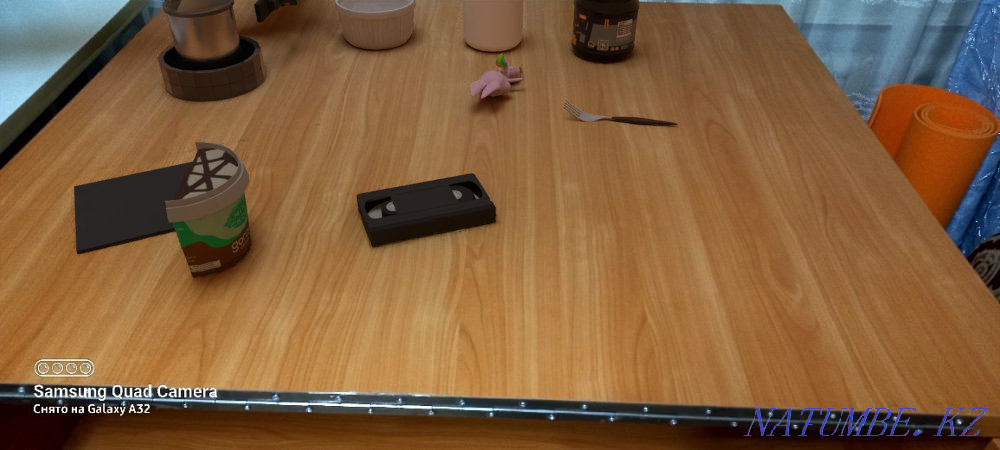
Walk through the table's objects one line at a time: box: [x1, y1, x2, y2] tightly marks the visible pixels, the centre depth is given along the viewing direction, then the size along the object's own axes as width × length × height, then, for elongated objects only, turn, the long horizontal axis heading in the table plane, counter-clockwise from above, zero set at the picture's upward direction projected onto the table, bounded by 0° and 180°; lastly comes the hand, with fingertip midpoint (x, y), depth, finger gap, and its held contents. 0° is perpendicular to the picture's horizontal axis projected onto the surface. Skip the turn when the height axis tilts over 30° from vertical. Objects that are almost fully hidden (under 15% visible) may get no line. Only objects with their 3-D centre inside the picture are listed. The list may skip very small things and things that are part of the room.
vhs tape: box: [356, 172, 497, 248], centre depth 84 cm, size 14×8×2 cm, turn 110°
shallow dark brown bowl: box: [157, 34, 267, 103], centre depth 111 cm, size 14×14×5 cm
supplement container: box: [570, 0, 641, 63], centre depth 120 cm, size 10×10×12 cm
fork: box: [562, 99, 679, 126], centre depth 104 cm, size 3×16×2 cm, turn 78°
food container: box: [165, 141, 253, 278], centre depth 77 cm, size 12×6×10 cm, turn 5°
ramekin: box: [334, 0, 417, 51], centre depth 126 cm, size 13×13×7 cm
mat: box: [73, 161, 193, 255], centre depth 86 cm, size 14×14×1 cm
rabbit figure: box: [469, 53, 524, 99], centre depth 109 cm, size 6×6×15 cm
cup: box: [462, 0, 524, 53], centre depth 124 cm, size 10×10×10 cm
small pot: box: [161, 0, 244, 71], centre depth 109 cm, size 10×10×12 cm
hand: (213, 11), depth 110 cm, fingers open, 13 cm apart
